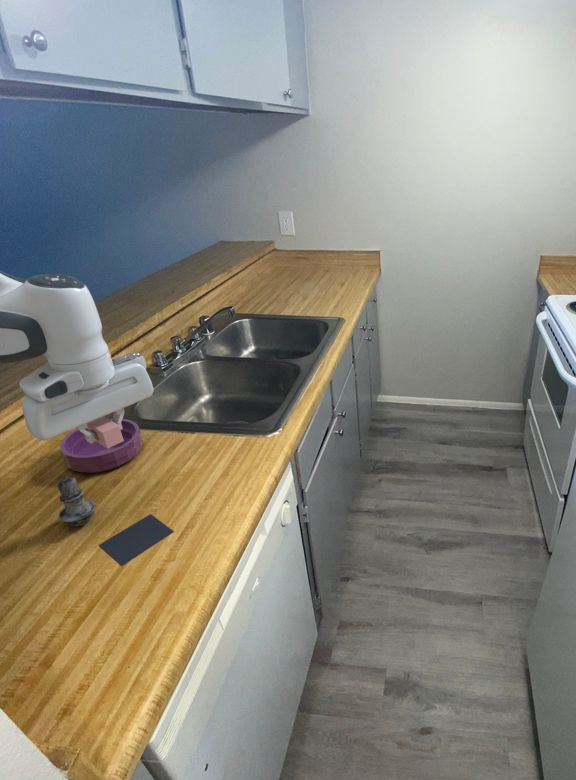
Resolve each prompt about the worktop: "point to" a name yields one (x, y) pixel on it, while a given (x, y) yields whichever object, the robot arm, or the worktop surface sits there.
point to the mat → (135, 539)
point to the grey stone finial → (74, 503)
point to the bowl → (101, 450)
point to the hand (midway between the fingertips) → (104, 435)
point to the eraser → (106, 431)
